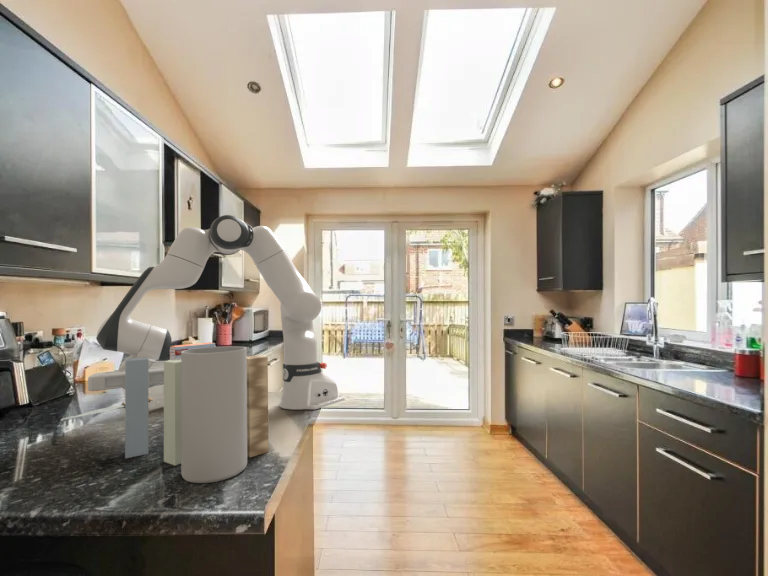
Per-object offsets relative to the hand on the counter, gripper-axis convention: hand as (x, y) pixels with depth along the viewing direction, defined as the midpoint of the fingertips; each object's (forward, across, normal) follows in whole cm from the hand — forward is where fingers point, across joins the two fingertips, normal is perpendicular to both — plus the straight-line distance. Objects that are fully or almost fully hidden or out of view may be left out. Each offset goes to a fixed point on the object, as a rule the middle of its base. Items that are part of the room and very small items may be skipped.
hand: (137, 382), depth 95 cm
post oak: (+20, +23, +16) cm, 34 cm away
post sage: (+14, +8, +16) cm, 23 cm away
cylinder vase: (+25, +14, +16) cm, 33 cm away
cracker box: (-42, +17, +16) cm, 49 cm away
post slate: (+3, 0, +16) cm, 16 cm away
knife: (-49, -7, +17) cm, 53 cm away
